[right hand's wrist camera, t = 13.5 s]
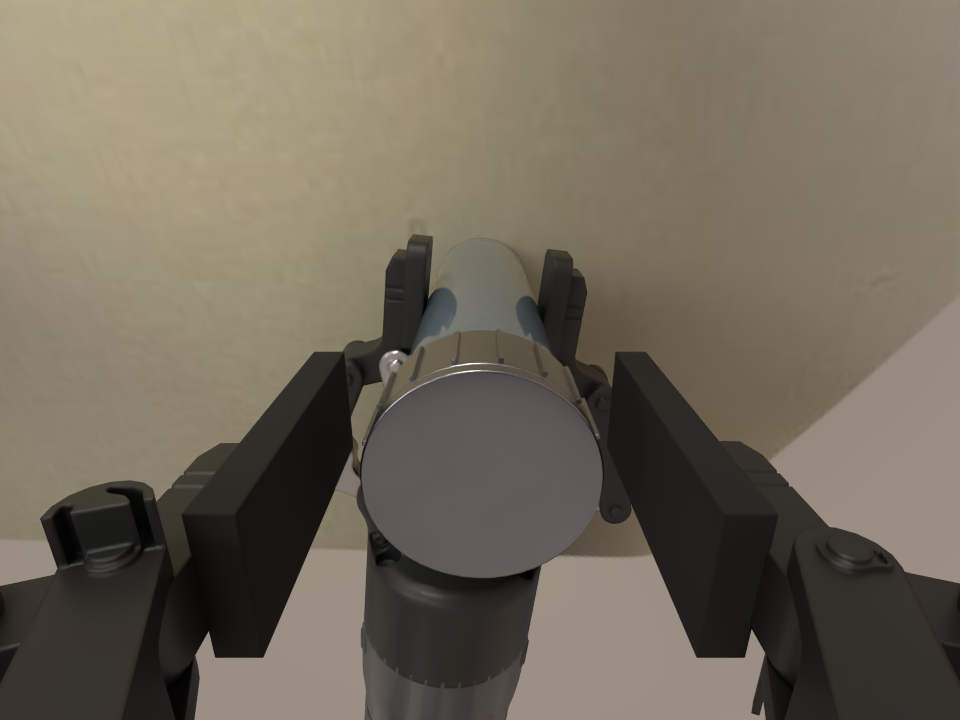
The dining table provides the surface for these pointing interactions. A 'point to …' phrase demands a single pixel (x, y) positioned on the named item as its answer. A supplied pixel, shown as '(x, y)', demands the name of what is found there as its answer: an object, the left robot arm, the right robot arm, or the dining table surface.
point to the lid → (481, 456)
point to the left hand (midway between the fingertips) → (491, 248)
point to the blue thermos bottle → (481, 295)
